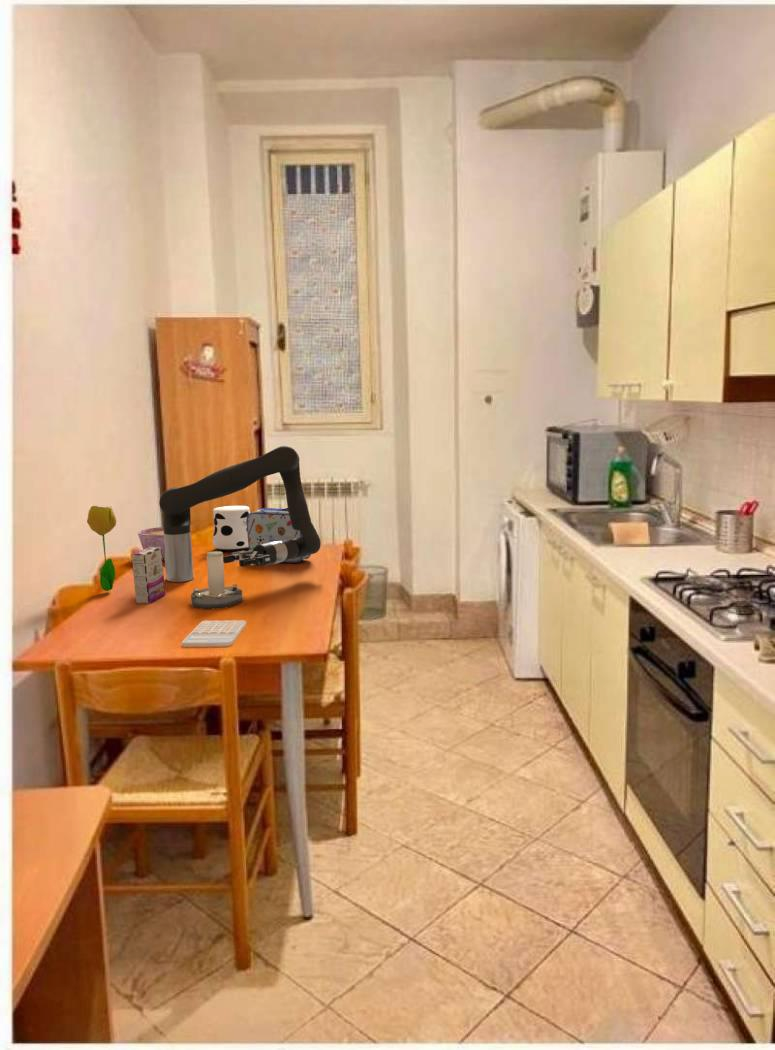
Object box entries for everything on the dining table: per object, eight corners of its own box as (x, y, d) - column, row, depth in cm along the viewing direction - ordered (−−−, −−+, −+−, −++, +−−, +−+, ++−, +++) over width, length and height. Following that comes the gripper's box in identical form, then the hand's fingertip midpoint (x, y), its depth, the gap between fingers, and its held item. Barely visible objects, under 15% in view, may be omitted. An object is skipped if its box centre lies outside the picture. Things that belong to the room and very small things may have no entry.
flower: (111, 596, 255) (104, 507, 250) (90, 595, 256) (81, 507, 251) (125, 589, 263) (118, 503, 258) (104, 589, 265) (96, 503, 260)
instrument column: (205, 592, 243) (203, 553, 241) (218, 589, 247) (216, 550, 245) (215, 594, 240) (212, 555, 238) (228, 591, 244) (226, 552, 242)
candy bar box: (152, 594, 255) (148, 546, 253) (165, 595, 254) (162, 546, 252) (134, 603, 245) (130, 553, 242) (149, 604, 244) (145, 553, 241)
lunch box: (318, 560, 303) (316, 505, 300) (306, 565, 294) (303, 509, 290) (259, 556, 314) (256, 503, 310) (245, 561, 304) (242, 506, 301)
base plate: (181, 603, 243) (180, 590, 242) (222, 593, 255) (221, 580, 254) (211, 612, 233) (210, 598, 232) (252, 600, 244) (252, 587, 244)
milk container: (262, 548, 329) (260, 507, 326) (228, 555, 317) (226, 512, 314) (238, 544, 341) (236, 504, 338) (205, 550, 329) (202, 509, 326)
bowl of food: (129, 560, 312) (127, 532, 310) (168, 551, 328) (166, 525, 326) (161, 565, 301) (159, 536, 299) (200, 556, 317) (198, 528, 315)
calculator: (247, 625, 220) (247, 619, 219) (230, 648, 200) (230, 641, 200) (201, 626, 220) (201, 619, 220) (180, 648, 200) (180, 641, 200)
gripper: (256, 540, 263) (217, 548, 251) (283, 544, 253) (244, 553, 241) (257, 561, 264) (219, 570, 252) (285, 566, 254) (246, 576, 243)
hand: (231, 561), depth 247 cm, fingers open, 8 cm apart
